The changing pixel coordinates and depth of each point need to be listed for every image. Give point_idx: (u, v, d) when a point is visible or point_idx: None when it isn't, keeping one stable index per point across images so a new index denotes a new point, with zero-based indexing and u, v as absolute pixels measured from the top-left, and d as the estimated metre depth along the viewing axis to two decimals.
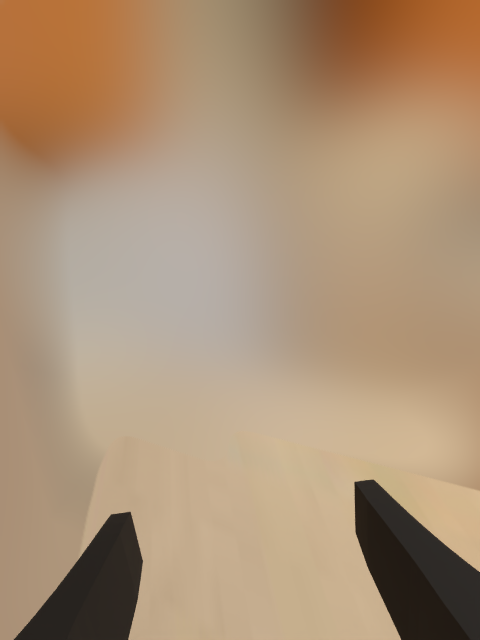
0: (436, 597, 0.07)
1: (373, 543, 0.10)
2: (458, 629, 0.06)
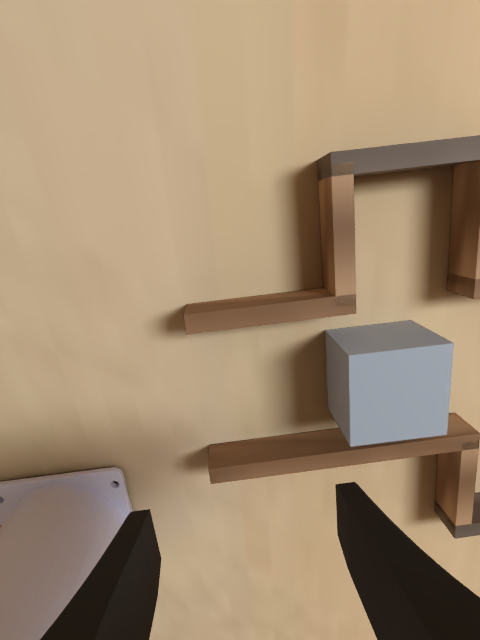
0: (406, 600, 0.07)
1: (352, 546, 0.10)
2: (426, 633, 0.06)
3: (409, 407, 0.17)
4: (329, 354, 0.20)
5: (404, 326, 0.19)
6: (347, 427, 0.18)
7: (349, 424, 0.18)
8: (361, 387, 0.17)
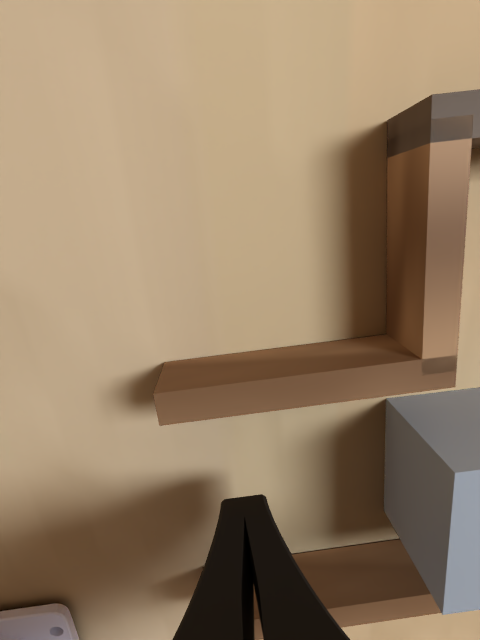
0: (262, 621, 0.07)
1: (250, 560, 0.10)
2: None
3: None
4: (394, 439, 0.12)
5: None
6: (436, 579, 0.11)
7: (443, 579, 0.10)
8: (472, 524, 0.10)
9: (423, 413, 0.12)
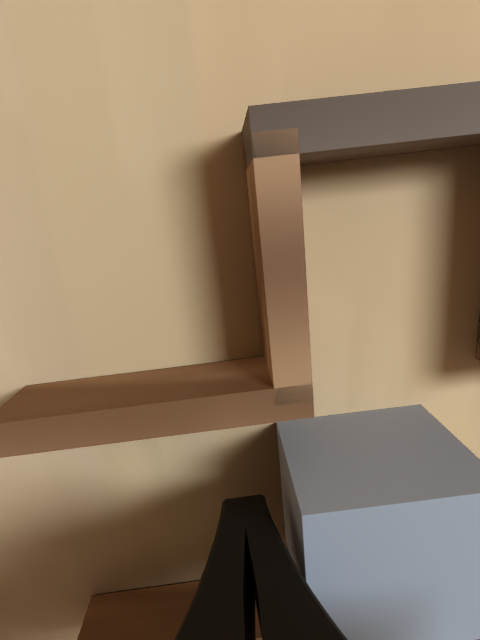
0: (260, 621, 0.07)
1: (249, 560, 0.10)
2: None
3: (421, 599, 0.09)
4: (282, 467, 0.12)
5: (412, 425, 0.11)
6: None
7: None
8: (329, 569, 0.09)
9: (305, 441, 0.11)
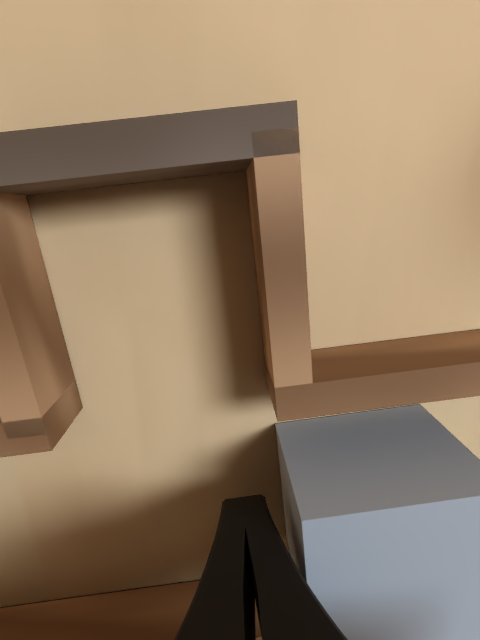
0: (260, 621, 0.07)
1: (249, 560, 0.10)
2: None
3: (423, 601, 0.09)
4: (282, 470, 0.12)
5: (412, 426, 0.11)
6: None
7: None
8: (330, 574, 0.09)
9: (304, 444, 0.11)
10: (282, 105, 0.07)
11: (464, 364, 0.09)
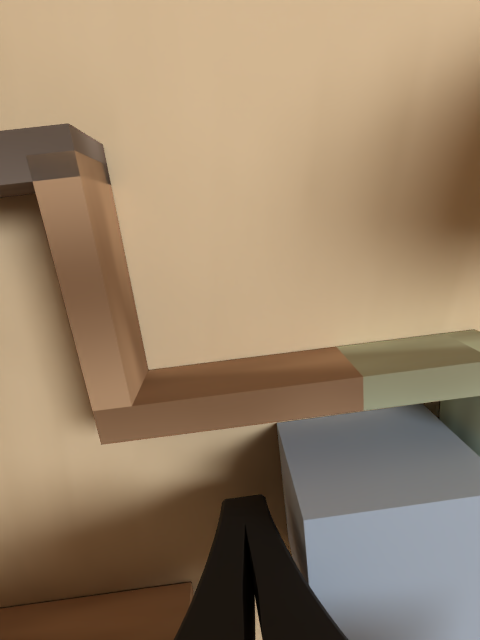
0: (261, 621, 0.07)
1: (250, 560, 0.10)
2: None
3: (425, 601, 0.09)
4: (283, 470, 0.12)
5: (414, 425, 0.11)
6: None
7: None
8: (332, 574, 0.09)
9: (306, 443, 0.11)
10: (55, 128, 0.07)
11: (288, 387, 0.09)
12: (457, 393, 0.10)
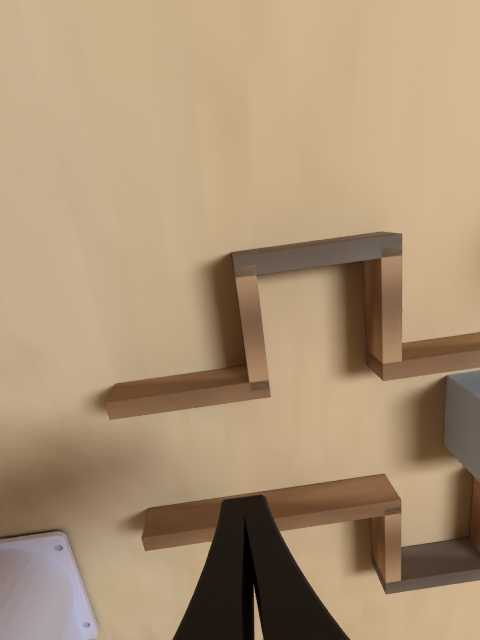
0: (262, 621, 0.07)
1: (251, 560, 0.10)
2: None
3: None
4: (453, 398, 0.21)
5: None
6: None
7: None
8: None
9: (471, 382, 0.20)
10: (395, 235, 0.17)
11: (477, 350, 0.19)
12: None
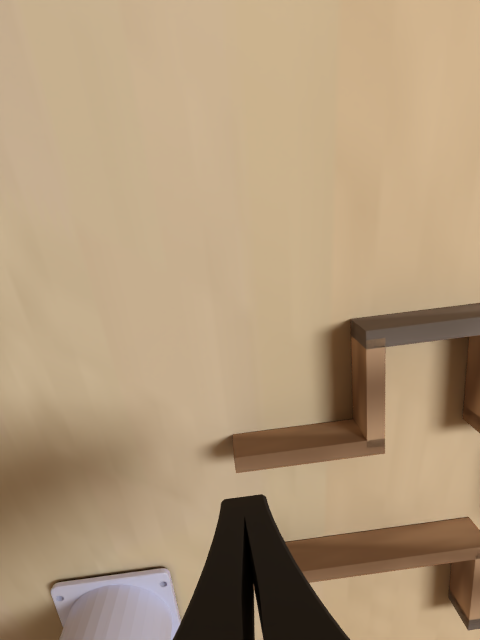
0: (262, 621, 0.07)
1: (251, 560, 0.10)
2: None
3: None
4: None
5: None
6: None
7: None
8: None
9: None
10: None
11: None
12: None
